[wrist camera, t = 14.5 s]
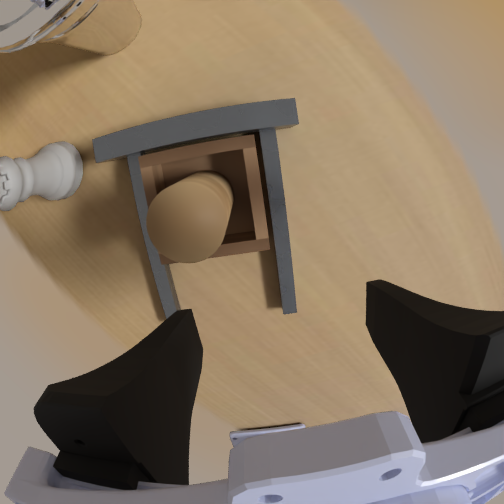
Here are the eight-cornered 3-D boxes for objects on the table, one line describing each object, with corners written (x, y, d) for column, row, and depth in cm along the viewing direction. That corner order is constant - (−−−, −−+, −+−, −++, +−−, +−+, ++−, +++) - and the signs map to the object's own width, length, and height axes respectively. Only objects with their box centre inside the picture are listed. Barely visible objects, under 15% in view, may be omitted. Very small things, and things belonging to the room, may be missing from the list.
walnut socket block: (267, 237, 21) (270, 249, 19) (170, 251, 22) (161, 264, 19) (253, 136, 19) (253, 134, 17) (150, 155, 19) (138, 156, 17)
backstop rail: (308, 303, 23) (318, 328, 20) (159, 321, 24) (147, 347, 20) (287, 106, 18) (294, 98, 15) (115, 139, 19) (92, 139, 16)
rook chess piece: (59, 209, 20) (-7, 239, 13) (34, 164, 19) (-35, 180, 12) (96, 176, 20) (29, 195, 12) (69, 129, 18) (-2, 130, 11)
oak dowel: (238, 216, 20) (234, 255, 13) (188, 226, 21) (158, 269, 13) (228, 164, 19) (216, 175, 12) (176, 176, 19) (137, 194, 12)
